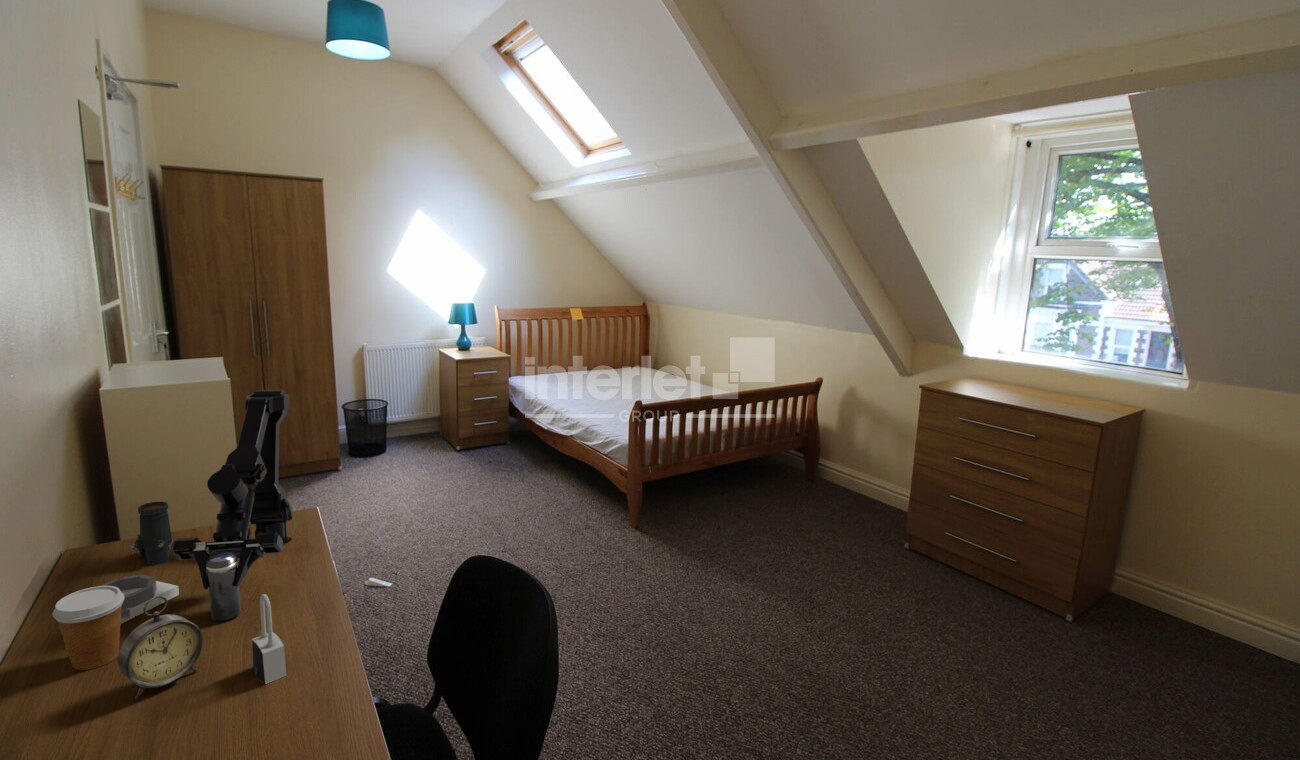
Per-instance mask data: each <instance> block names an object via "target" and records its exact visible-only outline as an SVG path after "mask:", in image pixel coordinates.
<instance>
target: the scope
mask: <svg viewBox="0 0 1300 760" xmlns="http://www.w3.org/2000/svg"><path fill="white" fill-rule="evenodd" d="M168 509H169V504H168V502H166V501H152V502H147V503H144V504H141V505H139V506H138V508H137V513H138V514H139V534H137V539H136V540H135V541H134V542H133V544H131V545H130V547H129V549H130V551H131V552H138V556H139V557H140V558H141V559H143V558H145V559H146V563H147V565H149V566H158V565H163V564H164V563H165V564H166V563H167V562H168V561H169V560H170V555H169V550H170V546H169V545H172V543H173V542H174V541H173V540H174V539H173V538H172V531H171V525H170V518H169V511H168Z"/></svg>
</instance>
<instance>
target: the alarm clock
mask: <svg viewBox="0 0 1300 760" xmlns="http://www.w3.org/2000/svg"><path fill="white" fill-rule="evenodd" d="M156 598H162V599H164V600H165V602H164V606H163V608H162V609H161V610H160V611H157V610H155V612H153V613H148V612H147V611H146V607H147V605H148V603H149V602H150V601H152V600H153V599H156ZM167 606H168V600H167V599H166V598H165V597H163V596H156V597H153V598H152V599H150V600H149V601H148V602H147V603H146V604H145V606H144V614H145V615H146V616H149V617H151V618H150V619H148V620H145V621H144V622H143V623H141V624H139V625H138V626H136V627H135V628H134V629H133V630H132V631H131V632H130V633H129V634H128V635H127V636H126V638H125V639H124V640H123V642H122V644H121V647H119V654H118V656H117V664H118V665H117V666H118V669H119V671H120V672H121V673H122V675H123V676H125V678H127V679H128V680H129V681H130V682H132V683H133V685H136V686H138V687H139V688H138V691H137V693H136V695H134V700H139V699H140V696H141V694H142V693H143V692H144V691H145V689H154V688H159V687H164V686H166V685H169V684H170V683H173V682H175V681H177V680H178V679H180V678H181V677H182V676H184V675H185V674H187V673H188V671H193V672H194V673H196V672H198V668H197V667H194V665H195V664H196V662H197V660H198V659H199V657H200V655H201V653H202V652H203V651H202V650H203V646H204V636H203V632H202V630H201V628H200V627H199V626H198V625H197V624H195V623H194V622H192V621H190V620H189V619H188V618H185V617H183V616H181V615H177V614H162V615H161V613H162V612H164V610H166V607H167Z"/></svg>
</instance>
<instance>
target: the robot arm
mask: <svg viewBox="0 0 1300 760" xmlns="http://www.w3.org/2000/svg"><path fill="white" fill-rule="evenodd" d="M290 400H291V399H290V395H289V394H286V393H285V390H284V389H256V390H255V391H254V393H252V394H249V395H246V396H245V414H244V418H243V423H242V426H241V431H240V435H239V438H238V442H237V446H236V448H235V449H233V450H232V451H231V452H230V453H229V454H228V455H227V457H226V460H225V463H224V464H222V466H221V468H220V469H218V470H217V471H216V472H214V473H213V474H211V475H210V477H209V478H208V479H207V482H206V483H207V485H206V486H207V488H208V491H210V493H211V494H212V495H213V497H214V498H215V500H216V501H217V502H218V503H220V508H219V513H217V515H216V520H217V523H216V524H217V525H216V529H215V532H213V534H212V539H213V541H209V542H208V541H206V542H205V541H203V542H202V541H201V540H200V539H199V538H198V537H197V536H195V537H194V536H193V537H180V538H179V537H178V538H176V539H175V540H174V541H173V542H172V543H171V546H170V549H169V550H170V551H169V552H170V553H171V554H172V555H174V557H175V558H176V559H178V560H179V561H188V560H189V561H190V560H191V561H192V560H193V561H195V562H196V563H197V566H198V569H199V574H200V577H201V582H202V585H203V589H204V590H209V585H208V573H207V569H206V565H207V561H206V559H207V558H208V557H209V556H211V555H212V552H215V554H216V553H219V552H226V551H231V552H235V553H236V554H237V559H239V560H238V566H237V567H238V569H237V574H236V580H235V586H236V587H238V586H239V587H240V585H241V584H242V582H243V580H244V578H245V576H246V575H247V573H248V571H249V569H250V568H251V567H252V565H253V564H254V563H255V561H257V560H259V559H261V558H264V557H265V554H266V555H268V554H280V553H282V552H283V550H284V549H283V548H284V544H285V543H288V542H290V541H292V540H293V537H291V536H290V537H289V536H288V535H287V534H288V533H287V523H288V522H289V521H291V520H293V510H292V508H293V507H292V505H291V504H290V502H289V500H288V498H287V495H286V491H285V489H284V488H283V487H282V485H281V484H280V482H279V470H280V466H279V465H280V464H279V463H280V426H281V423H282V422H283V420H284V419H285V418H286V416H287V415H288V409H289V408H290V404H291V403H290V402H291V401H290ZM248 486H255V487H253V489H251V487H248ZM252 525H255V530H254V537H253V535H252V530H251V528H252V527H251V526H252ZM291 539H292V540H291ZM289 540H290V541H289ZM287 541H288V542H287Z"/></svg>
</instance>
